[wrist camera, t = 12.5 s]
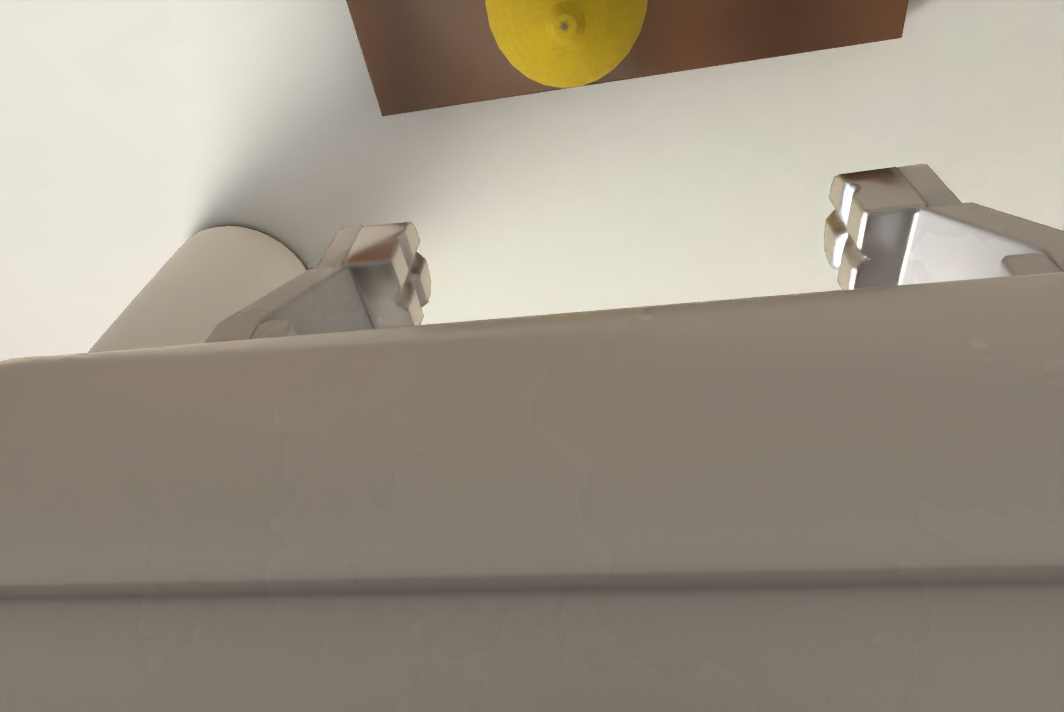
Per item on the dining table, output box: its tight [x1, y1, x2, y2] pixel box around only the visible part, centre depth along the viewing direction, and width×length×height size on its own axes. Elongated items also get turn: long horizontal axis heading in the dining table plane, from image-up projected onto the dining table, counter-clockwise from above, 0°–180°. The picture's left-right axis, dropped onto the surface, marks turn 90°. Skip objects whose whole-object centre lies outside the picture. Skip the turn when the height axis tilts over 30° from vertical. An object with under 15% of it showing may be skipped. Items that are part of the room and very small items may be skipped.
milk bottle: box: [88, 226, 307, 353], centre depth 30 cm, size 8×8×20 cm
